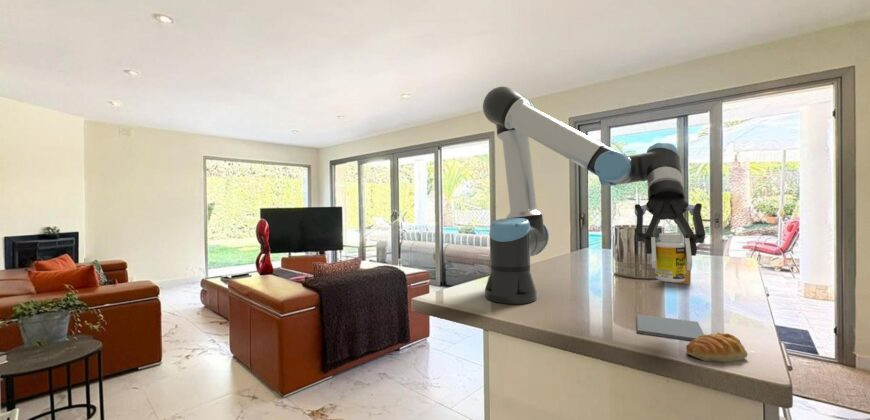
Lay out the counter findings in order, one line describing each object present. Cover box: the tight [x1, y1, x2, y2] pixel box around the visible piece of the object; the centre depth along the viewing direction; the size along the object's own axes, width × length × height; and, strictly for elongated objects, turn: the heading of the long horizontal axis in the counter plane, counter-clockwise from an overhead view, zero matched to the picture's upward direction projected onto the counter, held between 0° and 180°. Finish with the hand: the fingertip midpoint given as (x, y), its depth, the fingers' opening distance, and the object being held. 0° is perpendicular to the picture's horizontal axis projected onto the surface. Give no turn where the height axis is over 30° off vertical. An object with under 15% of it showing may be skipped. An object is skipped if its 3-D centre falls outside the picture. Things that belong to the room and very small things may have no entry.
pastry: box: [685, 332, 749, 363], centre depth 66 cm, size 9×7×4 cm
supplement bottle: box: [654, 232, 685, 283], centre depth 79 cm, size 6×6×10 cm
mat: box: [636, 314, 705, 342], centre depth 79 cm, size 12×12×1 cm
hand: (671, 265), depth 76 cm, fingers closed on supplement bottle, 5 cm apart
